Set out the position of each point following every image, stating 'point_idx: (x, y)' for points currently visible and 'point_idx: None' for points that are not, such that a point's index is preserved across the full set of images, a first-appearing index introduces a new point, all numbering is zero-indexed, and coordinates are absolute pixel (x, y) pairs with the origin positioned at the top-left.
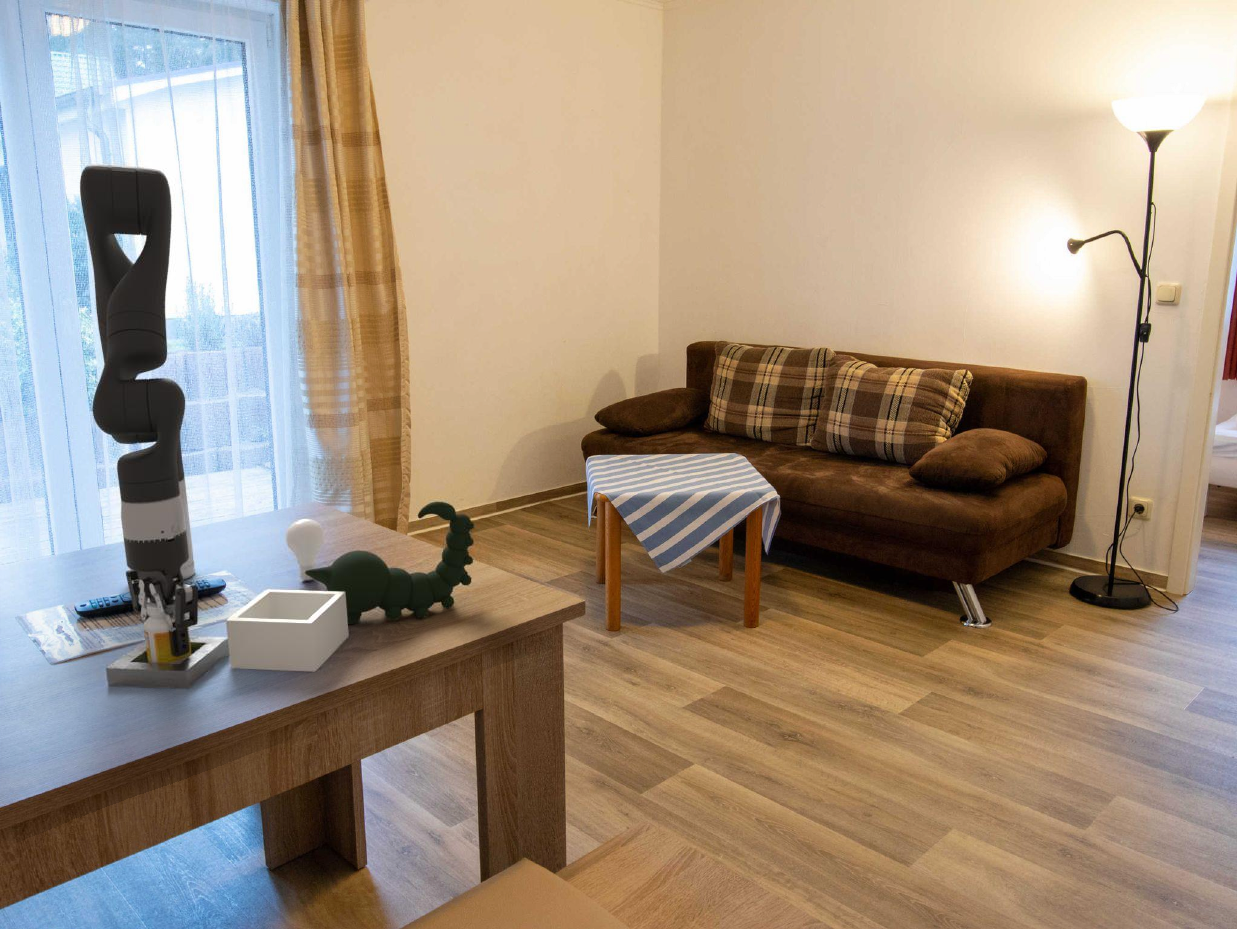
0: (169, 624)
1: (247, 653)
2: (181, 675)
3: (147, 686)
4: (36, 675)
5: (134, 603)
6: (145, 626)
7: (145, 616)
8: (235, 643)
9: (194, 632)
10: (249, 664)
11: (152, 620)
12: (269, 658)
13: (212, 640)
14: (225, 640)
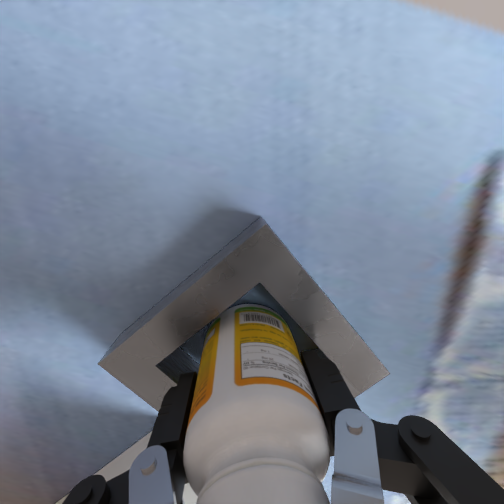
0: (151, 474)
1: None
2: (112, 348)
3: (187, 278)
4: (465, 98)
5: (443, 457)
6: (254, 401)
7: (338, 430)
8: None
9: (398, 421)
10: (135, 450)
11: (245, 443)
12: None
13: None
14: None
